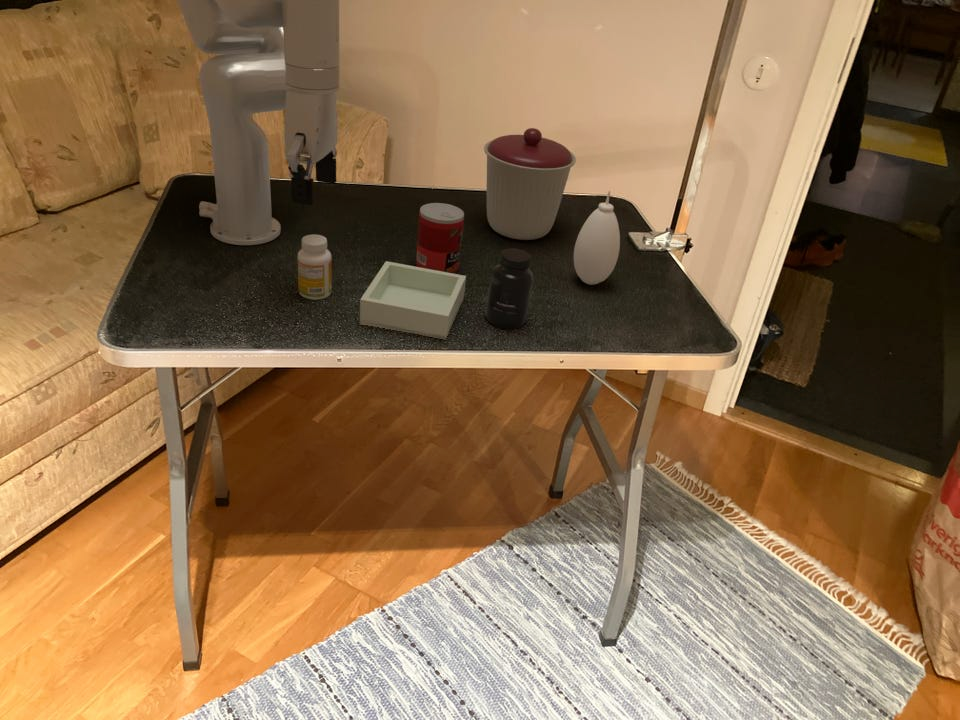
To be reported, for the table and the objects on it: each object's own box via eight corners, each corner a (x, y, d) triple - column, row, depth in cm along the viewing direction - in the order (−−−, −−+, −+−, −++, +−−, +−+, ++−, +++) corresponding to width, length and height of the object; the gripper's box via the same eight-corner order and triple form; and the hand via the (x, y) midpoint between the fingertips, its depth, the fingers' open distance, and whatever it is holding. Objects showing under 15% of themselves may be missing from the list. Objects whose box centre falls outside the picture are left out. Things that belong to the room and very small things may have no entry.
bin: (359, 324, 118) (360, 299, 116) (384, 284, 130) (385, 261, 127) (445, 340, 117) (448, 316, 114) (463, 299, 128) (466, 276, 126)
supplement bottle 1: (315, 281, 128) (314, 229, 123) (338, 293, 126) (338, 240, 120) (291, 292, 124) (289, 238, 119) (314, 304, 122) (313, 250, 116)
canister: (535, 257, 145) (553, 151, 133) (458, 229, 152) (469, 126, 140) (576, 230, 158) (595, 131, 147) (503, 205, 165) (516, 109, 154)
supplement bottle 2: (495, 332, 121) (504, 266, 114) (478, 311, 126) (486, 246, 119) (533, 327, 123) (544, 262, 117) (515, 306, 128) (525, 243, 122)
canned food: (453, 280, 134) (459, 223, 128) (410, 271, 135) (414, 215, 129) (462, 262, 140) (468, 207, 134) (421, 254, 141) (425, 199, 135)
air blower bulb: (561, 274, 141) (579, 182, 131) (598, 271, 143) (618, 181, 133) (580, 294, 135) (600, 200, 125) (618, 290, 137) (640, 198, 127)
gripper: (309, 61, 113) (312, 171, 122) (261, 86, 99) (268, 208, 108) (357, 68, 112) (356, 178, 122) (315, 94, 98) (318, 216, 107)
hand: (315, 192), depth 115 cm, fingers open, 9 cm apart
